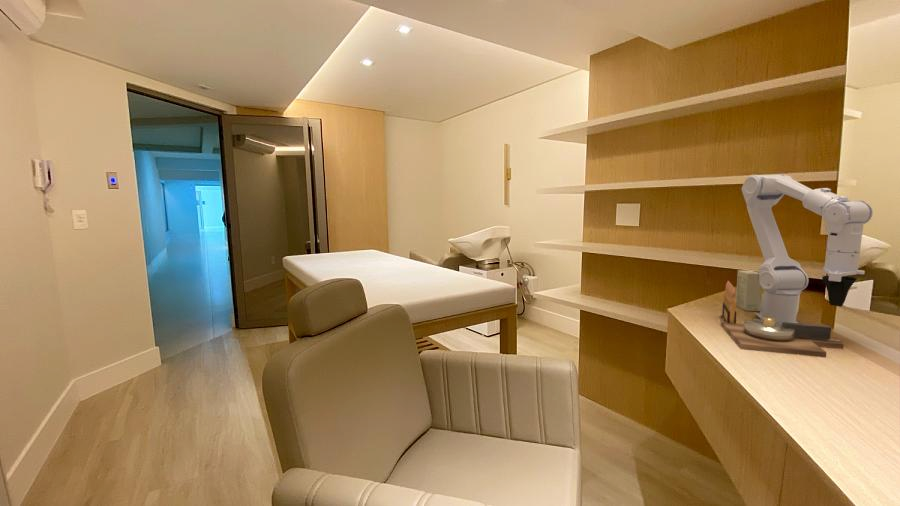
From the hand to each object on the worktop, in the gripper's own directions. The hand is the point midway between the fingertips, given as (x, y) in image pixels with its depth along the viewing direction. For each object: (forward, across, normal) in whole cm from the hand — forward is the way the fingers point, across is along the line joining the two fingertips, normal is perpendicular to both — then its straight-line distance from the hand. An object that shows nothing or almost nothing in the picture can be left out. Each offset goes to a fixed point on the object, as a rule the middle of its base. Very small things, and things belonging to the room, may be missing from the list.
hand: (836, 305), depth 94 cm
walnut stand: (+9, -8, +8) cm, 15 cm away
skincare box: (+10, +18, +22) cm, 30 cm away
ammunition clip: (+10, -1, +22) cm, 24 cm away
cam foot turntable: (+8, -8, +8) cm, 13 cm away
